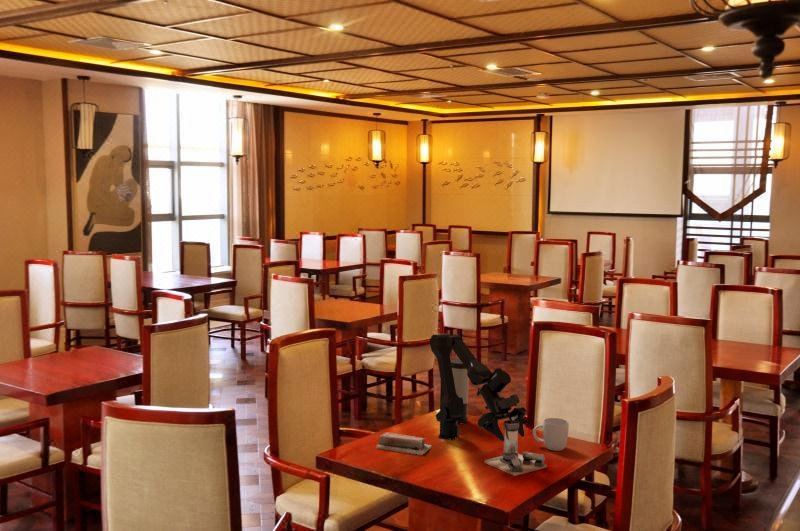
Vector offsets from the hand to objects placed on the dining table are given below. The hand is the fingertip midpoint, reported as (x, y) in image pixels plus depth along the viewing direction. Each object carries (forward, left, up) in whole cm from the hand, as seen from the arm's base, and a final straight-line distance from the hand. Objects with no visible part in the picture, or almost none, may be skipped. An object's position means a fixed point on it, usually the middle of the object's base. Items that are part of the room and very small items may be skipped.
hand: (513, 438), depth 261 cm
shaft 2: (+7, 0, -9) cm, 11 cm away
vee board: (+1, -1, -9) cm, 9 cm away
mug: (+9, +23, -9) cm, 26 cm away
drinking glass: (-1, +1, -8) cm, 8 cm away
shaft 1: (+2, -7, -9) cm, 11 cm away
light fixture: (-32, +42, -9) cm, 53 cm away
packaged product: (-40, +2, -10) cm, 41 cm away
